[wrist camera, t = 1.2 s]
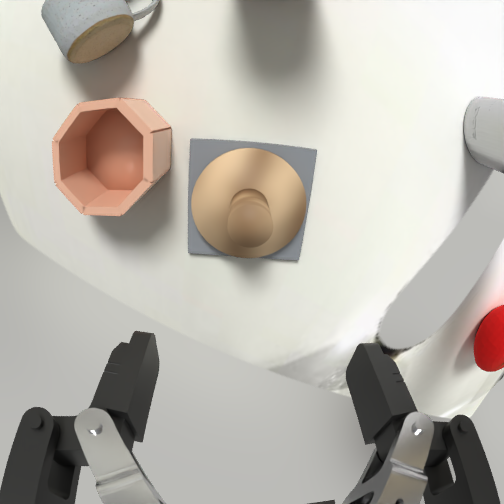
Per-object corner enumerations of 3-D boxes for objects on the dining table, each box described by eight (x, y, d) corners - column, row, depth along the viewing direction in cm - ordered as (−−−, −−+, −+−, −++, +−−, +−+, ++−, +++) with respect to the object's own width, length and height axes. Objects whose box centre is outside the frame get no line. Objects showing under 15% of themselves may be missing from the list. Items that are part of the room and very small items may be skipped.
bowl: (173, 98, 23) (155, 95, 18) (170, 196, 28) (153, 217, 22) (84, 105, 22) (52, 108, 17) (86, 195, 27) (58, 214, 22)
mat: (315, 149, 26) (317, 150, 25) (297, 257, 31) (298, 260, 31) (191, 138, 25) (190, 139, 25) (189, 250, 31) (188, 252, 30)
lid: (311, 154, 26) (329, 166, 20) (295, 255, 31) (305, 288, 25) (195, 144, 25) (181, 153, 19) (192, 249, 30) (182, 281, 24)
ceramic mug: (91, 72, 21) (49, 65, 14) (65, 26, 17) (26, 13, 11) (177, 12, 19) (158, -18, 12) (145, -32, 15) (122, -63, 9)
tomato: (509, 282, 36) (541, 313, 26) (512, 314, 40) (536, 344, 31) (459, 330, 40) (486, 369, 31) (467, 356, 44) (488, 389, 35)
